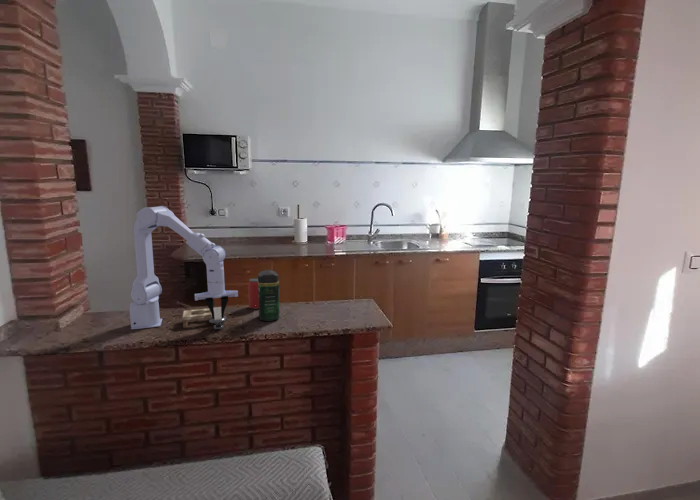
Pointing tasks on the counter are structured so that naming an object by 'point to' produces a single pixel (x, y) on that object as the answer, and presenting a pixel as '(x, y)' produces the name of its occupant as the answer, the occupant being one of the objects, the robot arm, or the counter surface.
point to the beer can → (253, 293)
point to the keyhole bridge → (188, 315)
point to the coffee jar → (268, 295)
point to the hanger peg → (218, 319)
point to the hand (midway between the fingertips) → (217, 317)
